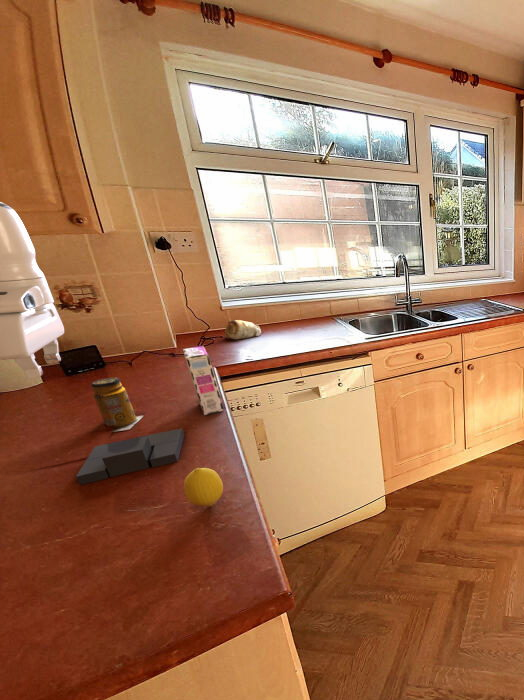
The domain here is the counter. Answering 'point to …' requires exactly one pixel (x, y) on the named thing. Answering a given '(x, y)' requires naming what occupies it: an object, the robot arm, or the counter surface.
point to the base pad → (161, 443)
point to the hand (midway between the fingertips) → (45, 369)
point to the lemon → (203, 487)
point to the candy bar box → (203, 380)
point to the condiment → (114, 404)
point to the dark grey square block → (128, 456)
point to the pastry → (241, 330)
